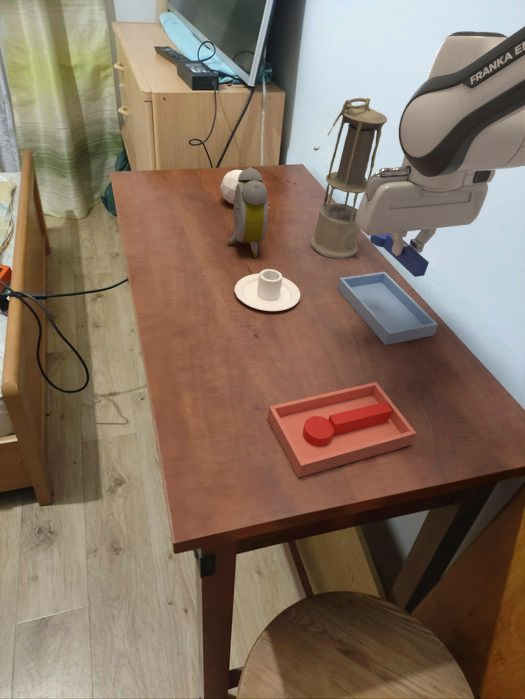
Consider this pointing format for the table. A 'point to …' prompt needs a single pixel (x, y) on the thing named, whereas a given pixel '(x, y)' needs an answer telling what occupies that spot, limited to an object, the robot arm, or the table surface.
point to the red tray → (344, 446)
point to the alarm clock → (250, 210)
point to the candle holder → (267, 291)
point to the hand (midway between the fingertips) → (406, 252)
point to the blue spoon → (409, 260)
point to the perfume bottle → (230, 185)
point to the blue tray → (386, 308)
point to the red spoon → (344, 423)
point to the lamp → (348, 180)
